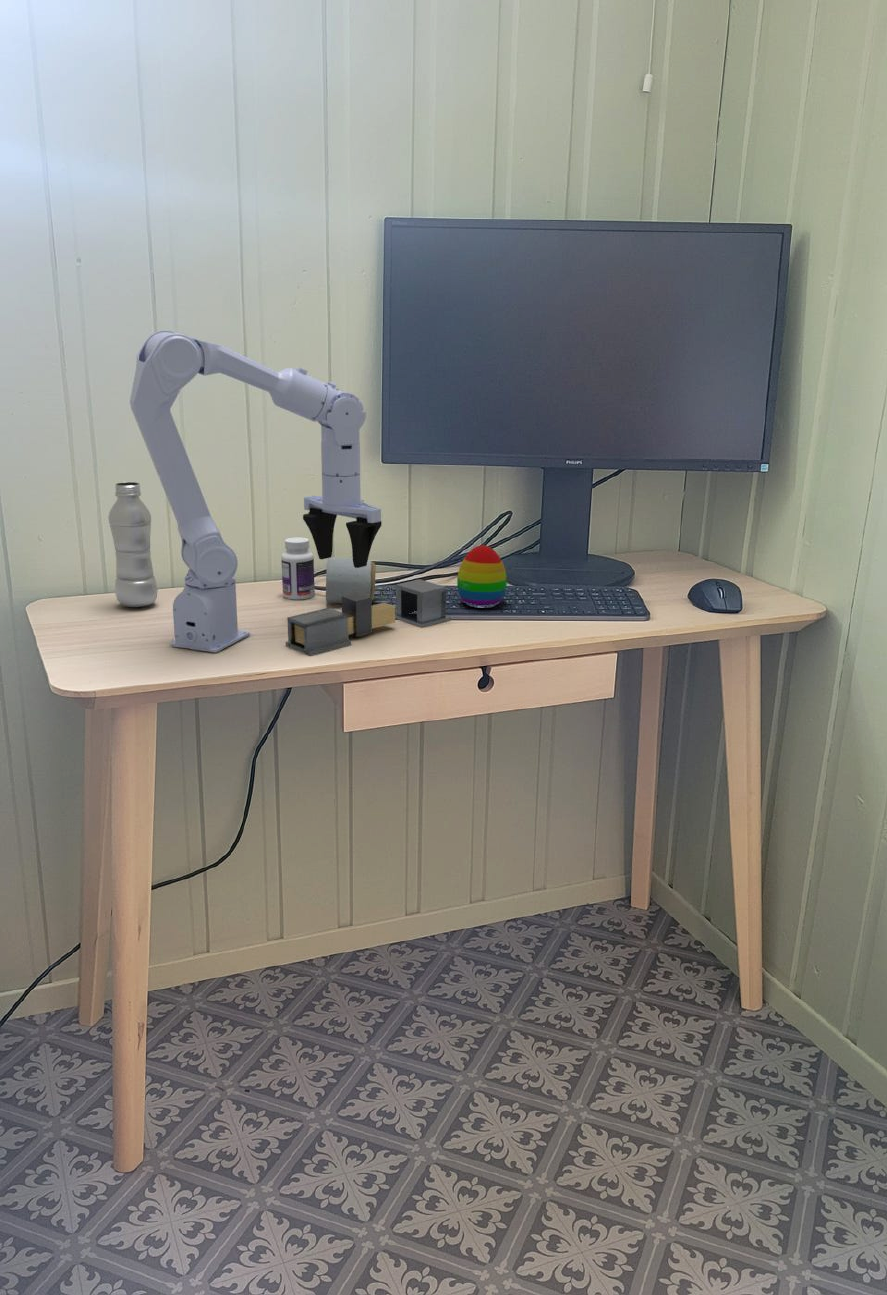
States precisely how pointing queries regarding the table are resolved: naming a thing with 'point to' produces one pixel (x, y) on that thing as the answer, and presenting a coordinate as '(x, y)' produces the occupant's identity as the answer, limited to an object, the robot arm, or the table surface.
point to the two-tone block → (359, 616)
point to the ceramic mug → (348, 579)
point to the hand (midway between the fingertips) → (342, 562)
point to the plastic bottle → (132, 547)
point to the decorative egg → (482, 577)
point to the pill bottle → (297, 569)
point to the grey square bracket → (421, 603)
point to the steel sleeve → (319, 631)
